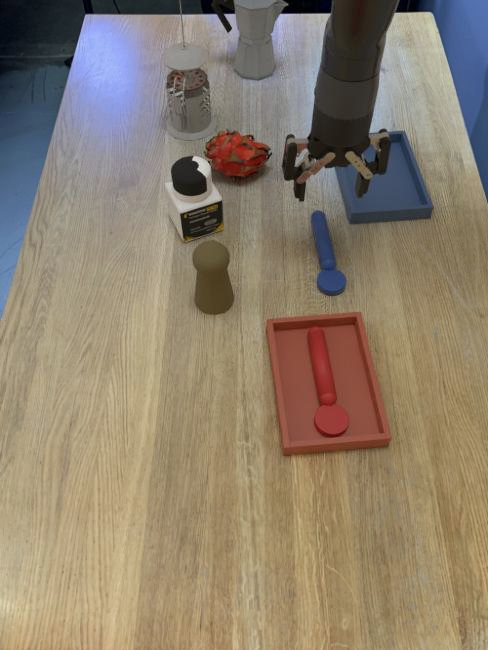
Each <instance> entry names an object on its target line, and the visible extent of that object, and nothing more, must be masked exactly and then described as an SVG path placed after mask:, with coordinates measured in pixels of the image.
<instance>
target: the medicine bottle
mask: <svg viewBox="0 0 488 650" xmlns="http://www.w3.org/2000/svg"><path fill="white" fill-rule="evenodd" d="M210 164H211V163H210ZM210 164H209V163H208V160H206V159H205V158H204V157H203V158H202V157H200V156H197V155H188V156H187V155H186V156H184V157H181V158H179V159H177V160H176V161H174V163H173V164H172V165H171V168H170V176H171V181H168V182H165V183H164V190H165V197H166V202H167V211H168V215H169V217H170V219H171V221H172V223H173V225H174V227H175V229H176V230H177V232H178V235H179V236H180V238H181V240H182V242H183V243H188V242H191V241H193V240H194V241H195V240H197V239H200V238H203V237H206V236H209V235H212V234H215V233H218V232H221V231H223V230H224V229H225V227H224V225H225V224H224V207H223V206H224V205H223V198H222V196H221V194H220V192H219V190H218V189H217V187H216V186H215V184H214V182H213V181H212V177H213V176H212V169H211V167H210Z"/></svg>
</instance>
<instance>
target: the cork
mask: <svg viewBox="0 0 488 650" xmlns="http://www.w3.org/2000/svg"><path fill="white" fill-rule="evenodd" d="M191 255H192V256H191V257H192V259H191V261H192V265H193V267H194V269H195V270H196V277H195V287H194V288H195V289H194V301H193V302H194V305H195V307H196V308H197V309H198V311H200V312H202V313H204V314H207V315H213V316H214V315H215V316H216V315H220V314H224V313H226V312H227V311H229V310H230V309H231V307H232V306H233V304H234V301H235V295H234V290H233V285H232V282H231V278H230V274H229V270H228V267H229V265H230V262H231V258H230V257H231V256H230V252H229V249H228V247H226V246H225V244H223V243H221V242H220V241H218V240H214V239H213V240H205V241H201V242H200V243H199V244H198V245H197V246H196V247H195V248H194V250H193V252H192V254H191Z"/></svg>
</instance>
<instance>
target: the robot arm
mask: <svg viewBox="0 0 488 650" xmlns="http://www.w3.org/2000/svg"><path fill="white" fill-rule="evenodd" d="M399 2H400V0H332V1H331V8H330V14H329V16H328V18H327V21H326V23H325V27H324V30H323V37H322V47H321V56H320V62H319V69H318V71H317V75H316V81H315V87H314V90H313V95H314V97H313V98H314V99H313V108H312V117H311V126H310V131H309V132H310V133H309V134H308V135H307V137H305V138H296V136H295V135H294V133H288V134H287V135H286V137H285V142H284V149H283V156H282V163H281V169H282V175H283V179H284V181H285V182H290V181H293V188H292V190H293V195H294V198H295V199H298V202H300V203H301V202H305V197H306V189H307V180H309V179H310V177H312V176H315V175H317V174H318V172H320V171H321V170H322V169H323V168H324V169H332V168H335V167H348V165H350V164H352V165H353V166H354V167H355V168H356V170H357V171H358V174H357V179H356V184H355V192H356V196H357V198H362V197H363V194H366V193H367V191H368V187H369V183H370V179H371V178H372V177H373V175H375V174H379V175H383V174H385V173H386V171H387V165H388V159H389V154H390V148H391V140H390V137H389V134H388V132H389V131H388V129H387V128H380V129H379V130H378V131H377V132H378V134H370V135H369V133H371V132H370V131H371V126H372V122H373V117H374V111H375V107H376V102H377V98H378V93H379V88H380V76H381V67H382V64H383V58H384V54H385V48H386V43H387V42H386V41H387V34H388V31H389V29H390V27H391V24H392V22H393V19H394V16H395V14H396V12H397V8H398V6H399ZM370 144H371V145H373V146H374V149H375V150H376V151H375V157H374V161H372V162H368V161H367V159H366V158H365V157H364V155H363V154H362V153H363V152H364V151H365V150H366V149H368V147H369V146H370ZM304 150H307V152H305V153H304V155H303V157H302V159H301V160H300V161H299V162H298V164H296V161H297V158H299V157H300V156H301V154H302V152H303V151H304Z"/></svg>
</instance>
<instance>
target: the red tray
mask: <svg viewBox="0 0 488 650" xmlns="http://www.w3.org/2000/svg"><path fill="white" fill-rule="evenodd" d="M363 319H364V318H363V316H362V311H351V312H340V313H339V312H338V313H326V314H314V315H312V314H311V315H300V316H299V315H298V316H288V317H275V318H266V322H265V323H266V325H265V330H266V337H267V345H268V353H269V361H270V367H271V375H272V382H273V389H274V397H275V405H276V412H277V420H278V427H279V433H280V434H279V435H280V442H281V450H282V456H292V455H293V456H294V455H303V454H313V453H314V454H315V453H325V452H336V451H338V452H339V451H347V450H360V449H372V448H381V447H382V448H383V447H389V445H390V443H391V441H392V439H393V438H392V433H391V430H390V425H389V421H388V417H387V412H386V408H385V405H384V402H383V401H384V400H383V396H382V393H381V388H380V385H379V381H378V376H377V373H376V369H375V365H374V360H373V356H372V352H371V347H370V344H369V340H368V335H367V331H366V327H365V323H364V320H363ZM314 326H318V327H320V328H322V329H323V331H324V334H325V339H326V344H327V349H328V354H329V359H330V364H331V369H332V374H333V379H334V384H335V389H336V394H337V401H336V403H335V404H337V405H340V406H341V407H343V408H344V409H345V411H346V412H347V414H348V417H349V423H348V427H347V429H346V431H345V432H344V433H343V434H342V435H341V436H339V437H334V438H329V437H325V436H323V435H322V434H320V433H319V432H318V431H317V429H316V427H315V425H314V418H315V413H316V411H317V409H318V408H319V407H320V406H322V404H321V403H320V401H319V397H318V391H317V386H316V380H315V374H314V369H313V363H312V358H311V352H310V347H309V341H308V331H309V329H310V328H312V327H314Z"/></svg>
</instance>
